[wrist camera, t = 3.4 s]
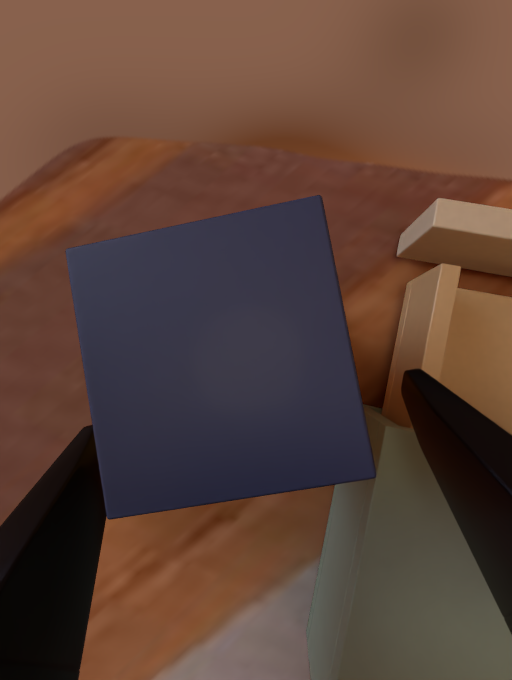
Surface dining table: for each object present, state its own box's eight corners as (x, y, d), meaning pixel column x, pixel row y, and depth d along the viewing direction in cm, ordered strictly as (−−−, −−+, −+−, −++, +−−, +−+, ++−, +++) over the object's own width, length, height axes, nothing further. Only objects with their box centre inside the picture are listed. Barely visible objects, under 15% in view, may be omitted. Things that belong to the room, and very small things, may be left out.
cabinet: (351, 401, 18) (385, 425, 12) (573, 449, 17) (730, 500, 11) (305, 630, 18) (318, 771, 12) (529, 691, 17) (666, 878, 11)
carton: (293, 303, 19) (322, 192, 6) (310, 391, 19) (378, 479, 6) (210, 319, 19) (63, 247, 6) (226, 405, 19) (106, 521, 6)
